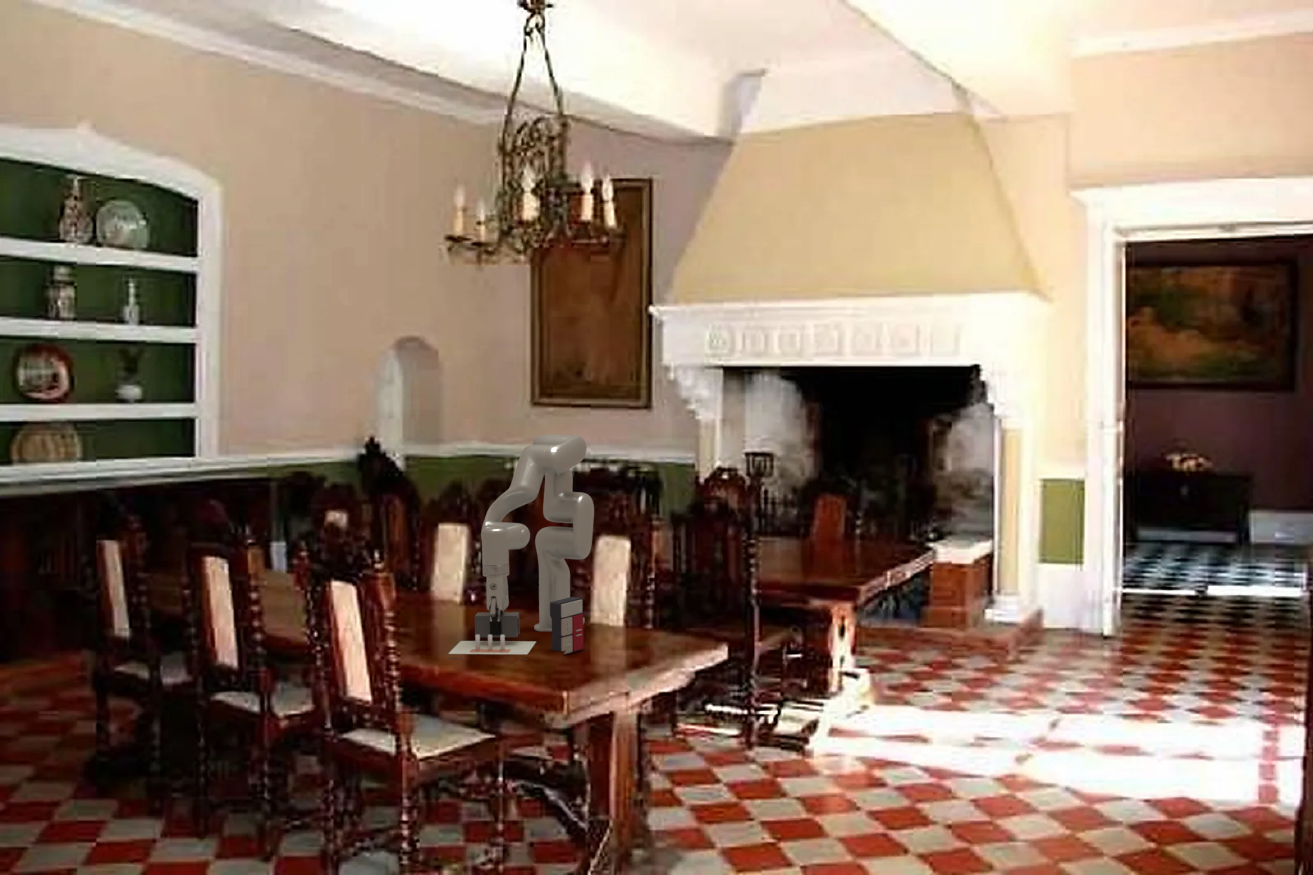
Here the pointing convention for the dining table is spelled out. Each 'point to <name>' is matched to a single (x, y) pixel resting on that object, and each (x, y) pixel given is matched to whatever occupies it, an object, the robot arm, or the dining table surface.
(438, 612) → the dining table surface
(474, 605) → the dining table surface
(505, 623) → the housing
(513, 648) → the header board
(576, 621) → the miniature cabinet
